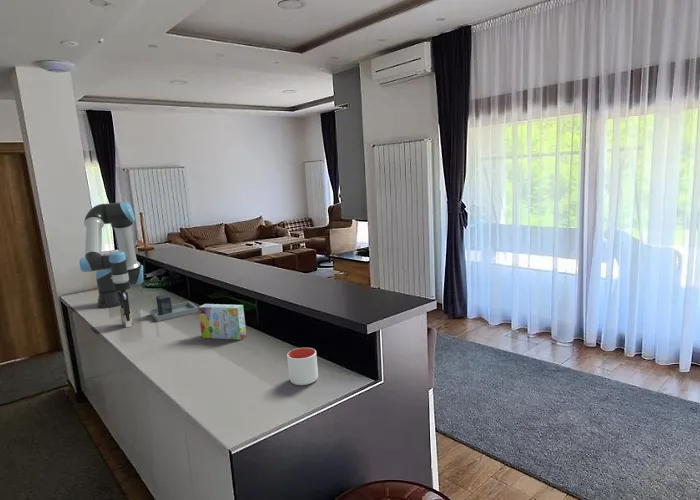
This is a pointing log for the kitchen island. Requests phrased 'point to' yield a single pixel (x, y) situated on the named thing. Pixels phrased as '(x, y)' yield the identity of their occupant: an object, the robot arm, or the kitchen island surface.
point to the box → (164, 304)
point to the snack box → (222, 321)
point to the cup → (302, 366)
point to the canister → (124, 317)
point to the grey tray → (175, 311)
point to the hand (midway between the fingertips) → (127, 324)
